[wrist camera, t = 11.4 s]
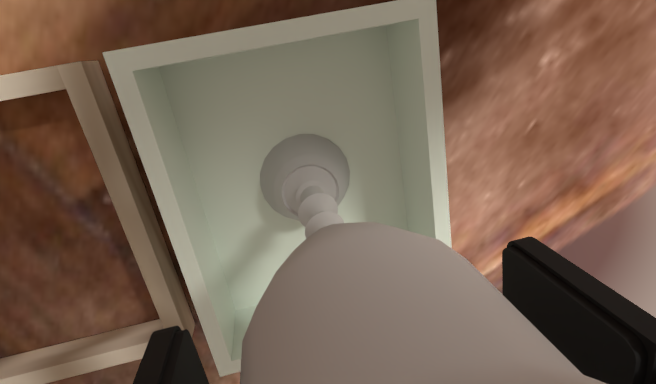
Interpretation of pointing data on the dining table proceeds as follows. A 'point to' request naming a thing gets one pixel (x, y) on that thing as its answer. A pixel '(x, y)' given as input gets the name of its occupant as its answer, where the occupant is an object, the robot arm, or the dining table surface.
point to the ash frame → (136, 219)
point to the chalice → (379, 298)
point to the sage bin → (273, 127)
